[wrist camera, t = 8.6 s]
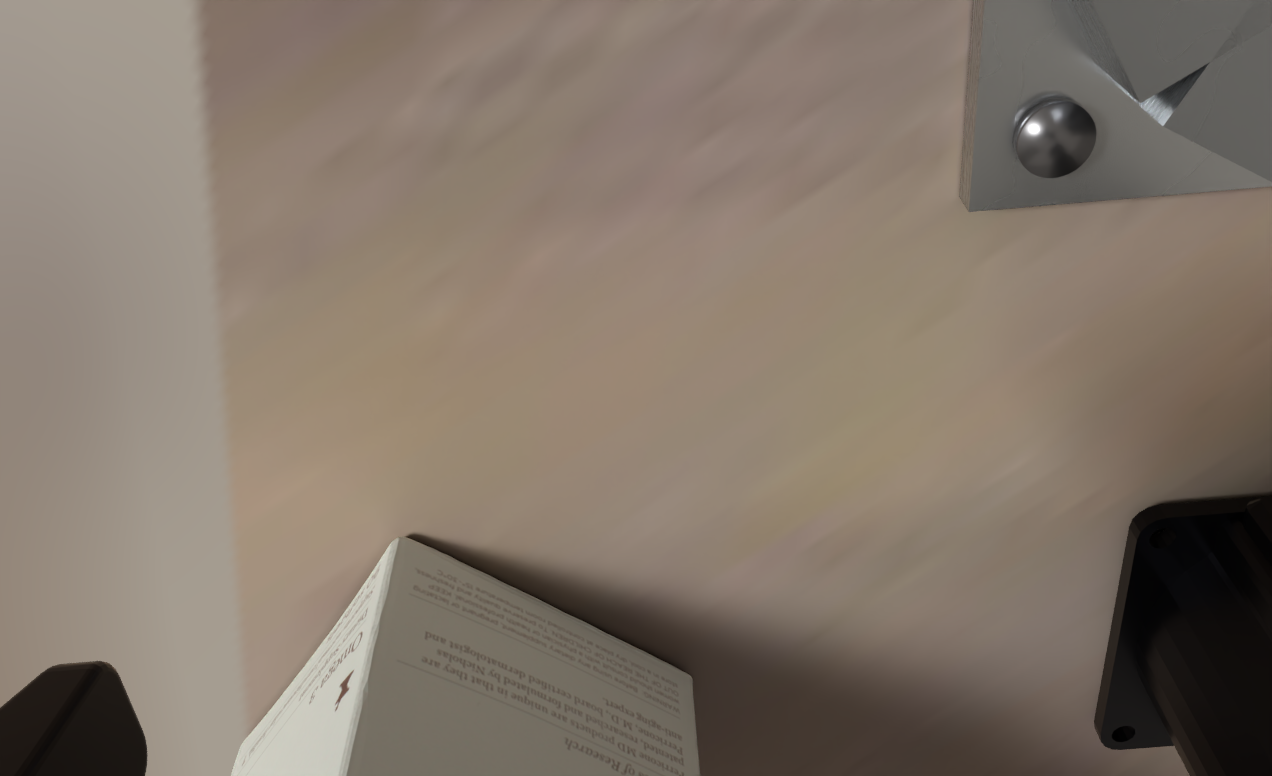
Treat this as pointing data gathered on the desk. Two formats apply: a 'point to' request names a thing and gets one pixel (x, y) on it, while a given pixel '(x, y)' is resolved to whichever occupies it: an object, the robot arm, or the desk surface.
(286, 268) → the desk surface
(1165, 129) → the duct flange
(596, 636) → the supplement box
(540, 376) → the desk surface
